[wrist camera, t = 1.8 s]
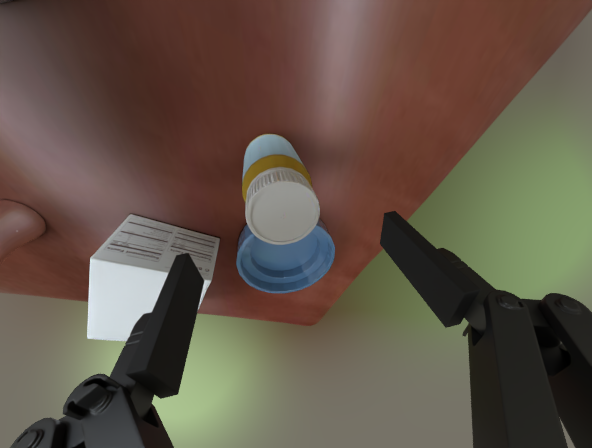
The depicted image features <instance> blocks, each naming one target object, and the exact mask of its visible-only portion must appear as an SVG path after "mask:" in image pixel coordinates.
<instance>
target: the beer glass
mask: <svg viewBox="0 0 592 448" xmlns="http://www.w3.org/2000/svg"><path fill="white" fill-rule="evenodd" d="M45 230H46V224H45V222H44V220H43V218H42V217H41V216H40V215H39V214H38V213H37V212H35V211H34V210H32V209H31V208H29V207H27V206H25V205H23V204H20V203H17V202H14V201H9V200H0V265H1V264H2V263H3V262H4V260H5V259H6V258H7V257H8V256H9V255H10V254H11V253H12V252H14V251H15V250H16V249H17V248H19V247H20V246H22V245H24V244H25V243H27V242H30V241H32V240H34V239H36V238H38V237H39V236H41V235H42V234H43V233H44V232H45Z"/></svg>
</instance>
